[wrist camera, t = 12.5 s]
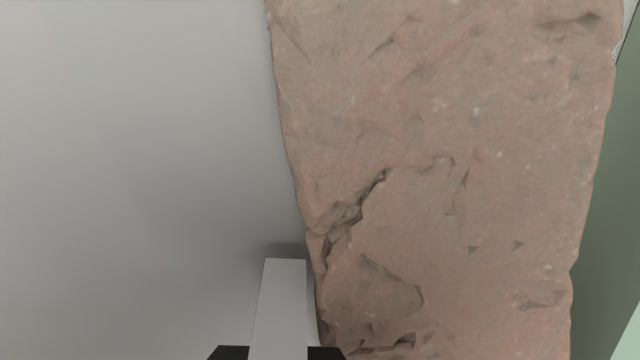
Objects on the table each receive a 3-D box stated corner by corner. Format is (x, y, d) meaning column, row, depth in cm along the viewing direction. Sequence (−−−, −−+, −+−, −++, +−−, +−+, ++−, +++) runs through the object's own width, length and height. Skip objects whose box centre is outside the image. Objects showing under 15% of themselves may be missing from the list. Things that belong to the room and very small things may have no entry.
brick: (264, -32, 11) (239, -82, 6) (531, -70, 11) (687, -147, 6) (329, 355, 17) (338, 464, 13) (499, 332, 17) (567, 433, 13)
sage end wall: (464, 476, 20) (501, 573, 17) (682, -115, 10) (897, -207, 7) (484, 476, 20) (525, 572, 17) (719, -111, 10) (952, -197, 7)
